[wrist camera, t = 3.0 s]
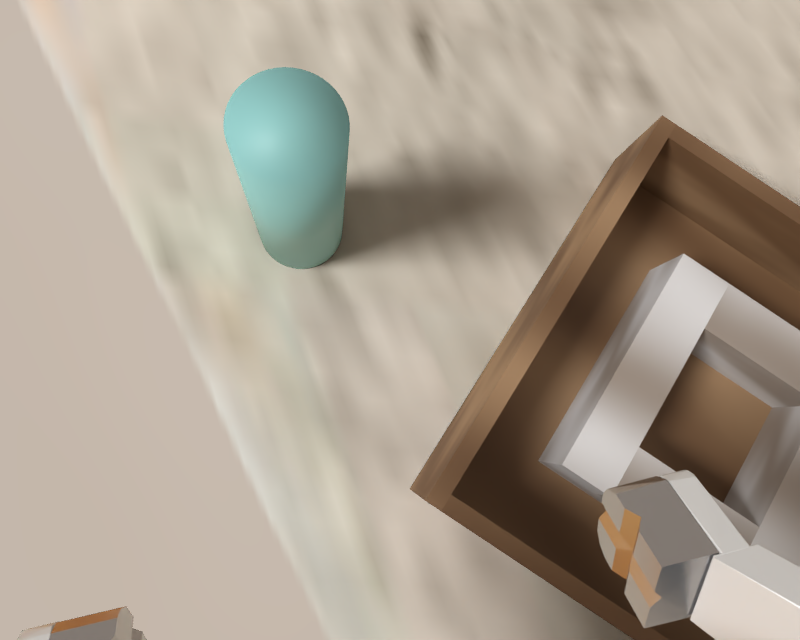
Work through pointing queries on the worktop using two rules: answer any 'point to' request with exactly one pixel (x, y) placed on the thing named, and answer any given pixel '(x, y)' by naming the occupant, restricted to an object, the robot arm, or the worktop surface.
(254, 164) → the peg
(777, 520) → the box
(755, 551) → the robot arm
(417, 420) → the worktop surface
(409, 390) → the worktop surface
